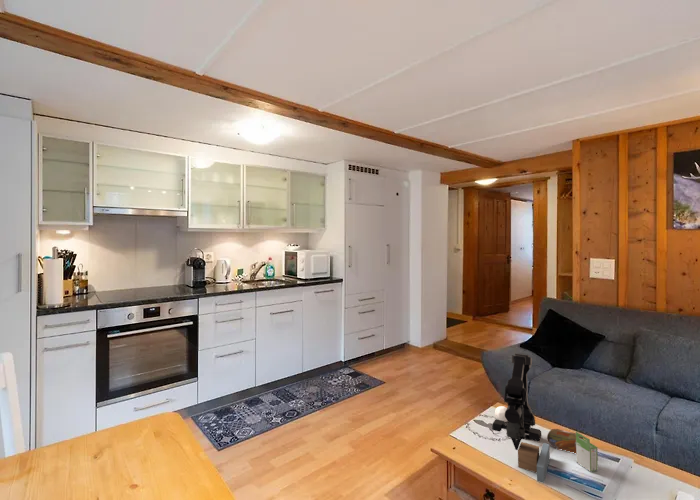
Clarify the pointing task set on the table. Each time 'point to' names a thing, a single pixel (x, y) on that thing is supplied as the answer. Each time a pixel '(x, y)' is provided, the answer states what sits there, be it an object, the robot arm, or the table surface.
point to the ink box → (586, 453)
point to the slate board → (543, 462)
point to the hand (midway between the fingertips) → (516, 449)
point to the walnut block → (528, 456)
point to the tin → (562, 440)
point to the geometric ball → (501, 413)
